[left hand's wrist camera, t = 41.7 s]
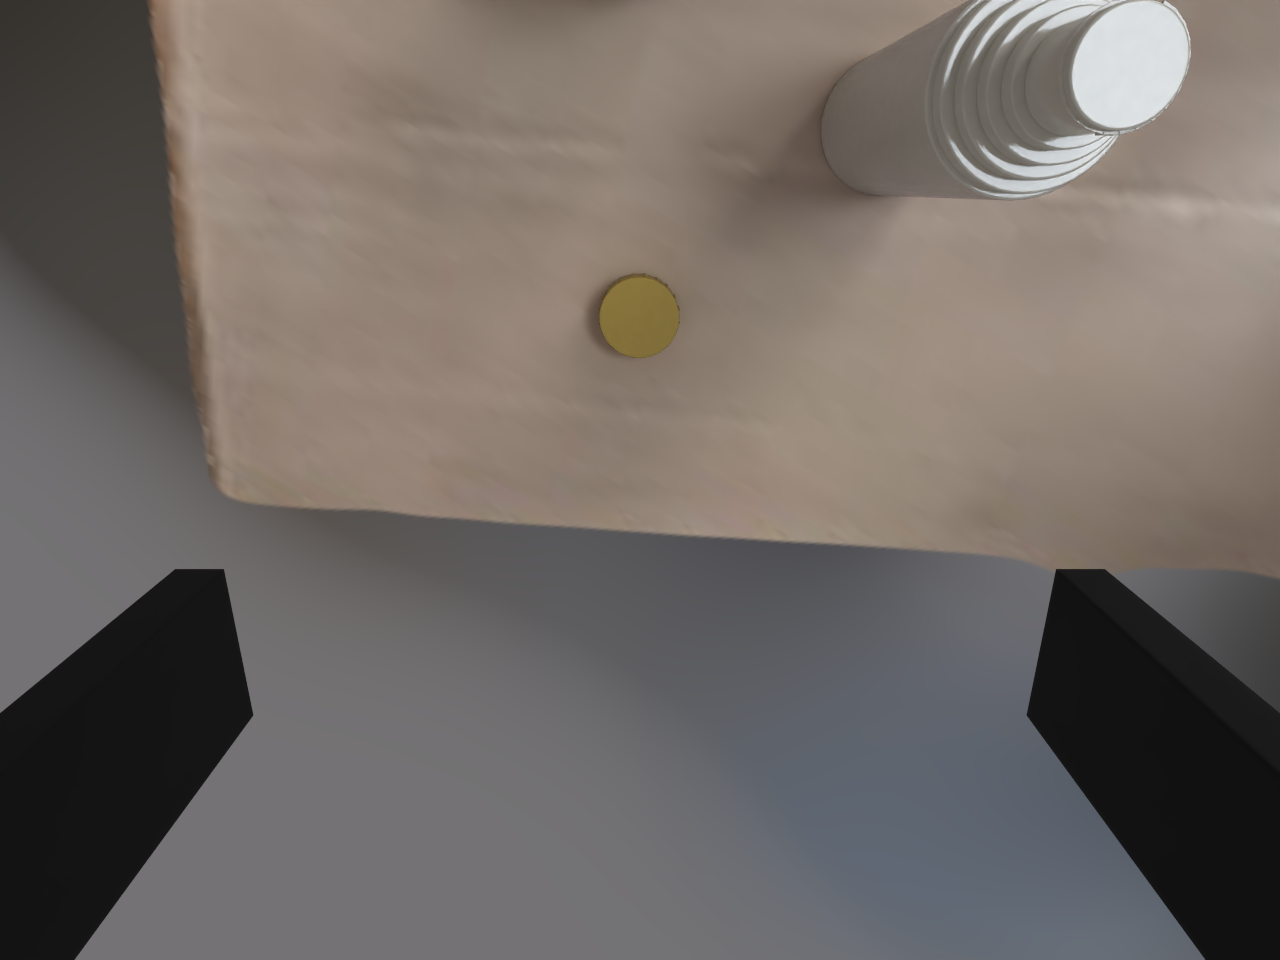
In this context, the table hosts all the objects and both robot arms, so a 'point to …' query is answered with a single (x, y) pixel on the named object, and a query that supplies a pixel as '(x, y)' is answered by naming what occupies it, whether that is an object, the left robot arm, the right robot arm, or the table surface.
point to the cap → (639, 316)
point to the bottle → (1004, 97)
